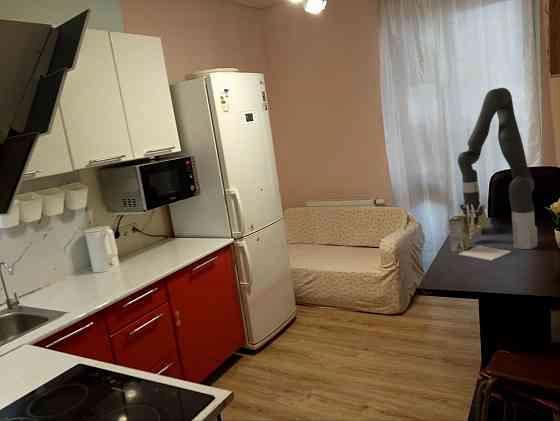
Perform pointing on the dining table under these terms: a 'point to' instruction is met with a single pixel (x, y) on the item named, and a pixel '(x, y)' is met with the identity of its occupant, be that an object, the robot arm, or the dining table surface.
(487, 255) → the mat
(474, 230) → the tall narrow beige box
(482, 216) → the cantaloupe
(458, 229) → the coffee box
